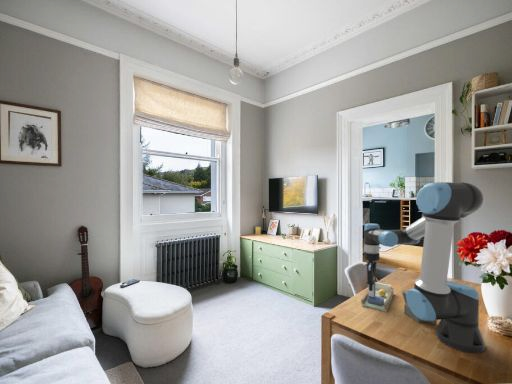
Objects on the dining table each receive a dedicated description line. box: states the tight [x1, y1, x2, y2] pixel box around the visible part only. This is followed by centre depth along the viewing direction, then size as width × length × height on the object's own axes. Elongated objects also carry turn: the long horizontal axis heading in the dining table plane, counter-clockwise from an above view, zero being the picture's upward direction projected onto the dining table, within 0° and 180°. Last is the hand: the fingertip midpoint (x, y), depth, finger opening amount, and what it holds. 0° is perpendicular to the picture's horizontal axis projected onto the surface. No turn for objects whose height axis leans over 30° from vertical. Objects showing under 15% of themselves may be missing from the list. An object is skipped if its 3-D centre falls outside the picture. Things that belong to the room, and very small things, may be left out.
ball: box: [378, 289, 386, 297], centre depth 143 cm, size 4×4×4 cm
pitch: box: [360, 281, 394, 313], centre depth 141 cm, size 27×12×6 cm, turn 145°
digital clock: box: [402, 289, 438, 325], centre depth 121 cm, size 16×9×11 cm, turn 0°
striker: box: [368, 277, 384, 305], centre depth 135 cm, size 6×7×14 cm
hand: (371, 294), depth 136 cm, fingers closed on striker, 3 cm apart
